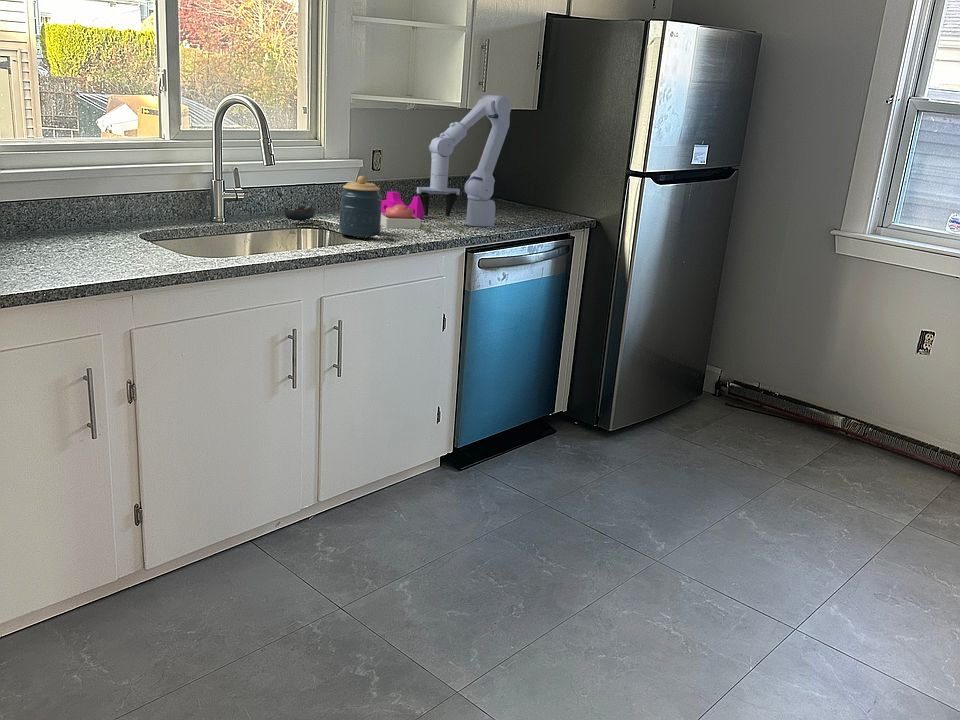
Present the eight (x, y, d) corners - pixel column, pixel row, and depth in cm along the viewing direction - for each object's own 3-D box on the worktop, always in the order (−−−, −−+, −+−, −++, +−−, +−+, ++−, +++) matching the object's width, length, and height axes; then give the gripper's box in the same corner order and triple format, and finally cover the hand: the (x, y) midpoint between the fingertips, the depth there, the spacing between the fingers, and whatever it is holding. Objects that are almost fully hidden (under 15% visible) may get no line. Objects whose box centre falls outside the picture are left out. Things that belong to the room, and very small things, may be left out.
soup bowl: (322, 222, 307) (323, 200, 305) (320, 229, 292) (320, 206, 290) (279, 219, 305) (279, 198, 303) (274, 226, 290) (274, 204, 288)
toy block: (381, 213, 315) (382, 191, 313) (393, 212, 320) (394, 191, 318) (411, 219, 307) (412, 197, 304) (423, 218, 311) (424, 196, 309)
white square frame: (410, 223, 302) (411, 214, 302) (420, 228, 292) (420, 219, 291) (377, 222, 298) (378, 213, 297) (386, 227, 288) (386, 218, 287)
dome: (408, 220, 300) (409, 203, 299) (415, 224, 292) (416, 206, 291) (382, 220, 297) (383, 202, 296) (389, 224, 289) (390, 206, 288)
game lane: (433, 217, 321) (433, 214, 321) (463, 232, 291) (464, 230, 291) (398, 216, 317) (398, 213, 317) (426, 231, 287) (426, 229, 286)
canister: (345, 237, 265) (347, 177, 260) (333, 230, 276) (335, 172, 271) (386, 237, 270) (389, 179, 265) (373, 230, 281) (375, 174, 276)
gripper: (456, 174, 299) (453, 214, 303) (415, 172, 294) (412, 213, 298) (462, 176, 293) (460, 217, 297) (421, 174, 288) (418, 216, 291)
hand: (436, 215), depth 297 cm, fingers open, 7 cm apart
